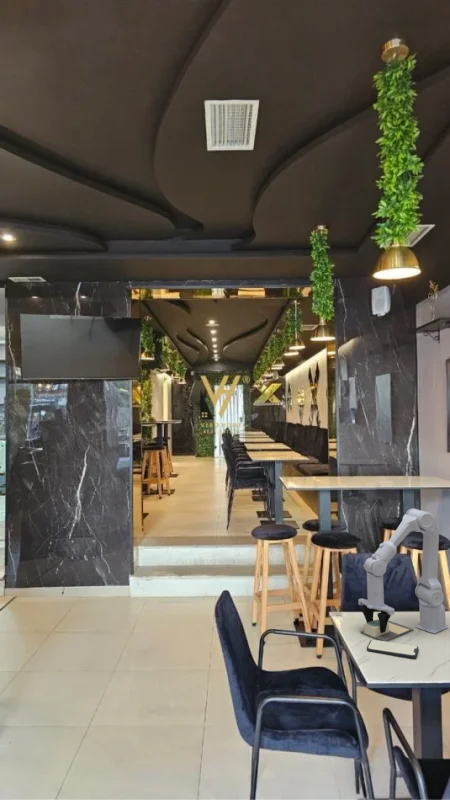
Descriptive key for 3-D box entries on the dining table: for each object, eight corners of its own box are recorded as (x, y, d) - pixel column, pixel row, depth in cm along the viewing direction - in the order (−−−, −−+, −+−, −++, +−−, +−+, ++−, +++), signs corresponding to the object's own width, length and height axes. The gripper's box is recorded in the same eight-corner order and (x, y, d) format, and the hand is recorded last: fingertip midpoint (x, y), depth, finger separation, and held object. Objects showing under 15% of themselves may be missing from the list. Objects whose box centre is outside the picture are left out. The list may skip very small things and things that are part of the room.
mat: (389, 622, 200) (389, 620, 200) (413, 630, 192) (413, 628, 192) (360, 633, 190) (360, 631, 190) (384, 642, 182) (384, 640, 182)
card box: (377, 627, 194) (377, 618, 194) (389, 631, 190) (389, 622, 190) (364, 633, 189) (363, 623, 189) (375, 637, 185) (375, 627, 185)
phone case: (366, 653, 175) (416, 661, 168) (365, 648, 175) (415, 656, 168) (371, 643, 183) (419, 650, 176) (370, 638, 183) (418, 645, 176)
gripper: (352, 589, 194) (353, 626, 193) (385, 599, 182) (386, 638, 181) (364, 585, 198) (365, 621, 197) (397, 595, 186) (398, 633, 185)
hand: (376, 629), depth 189 cm, fingers closed on card box, 5 cm apart
